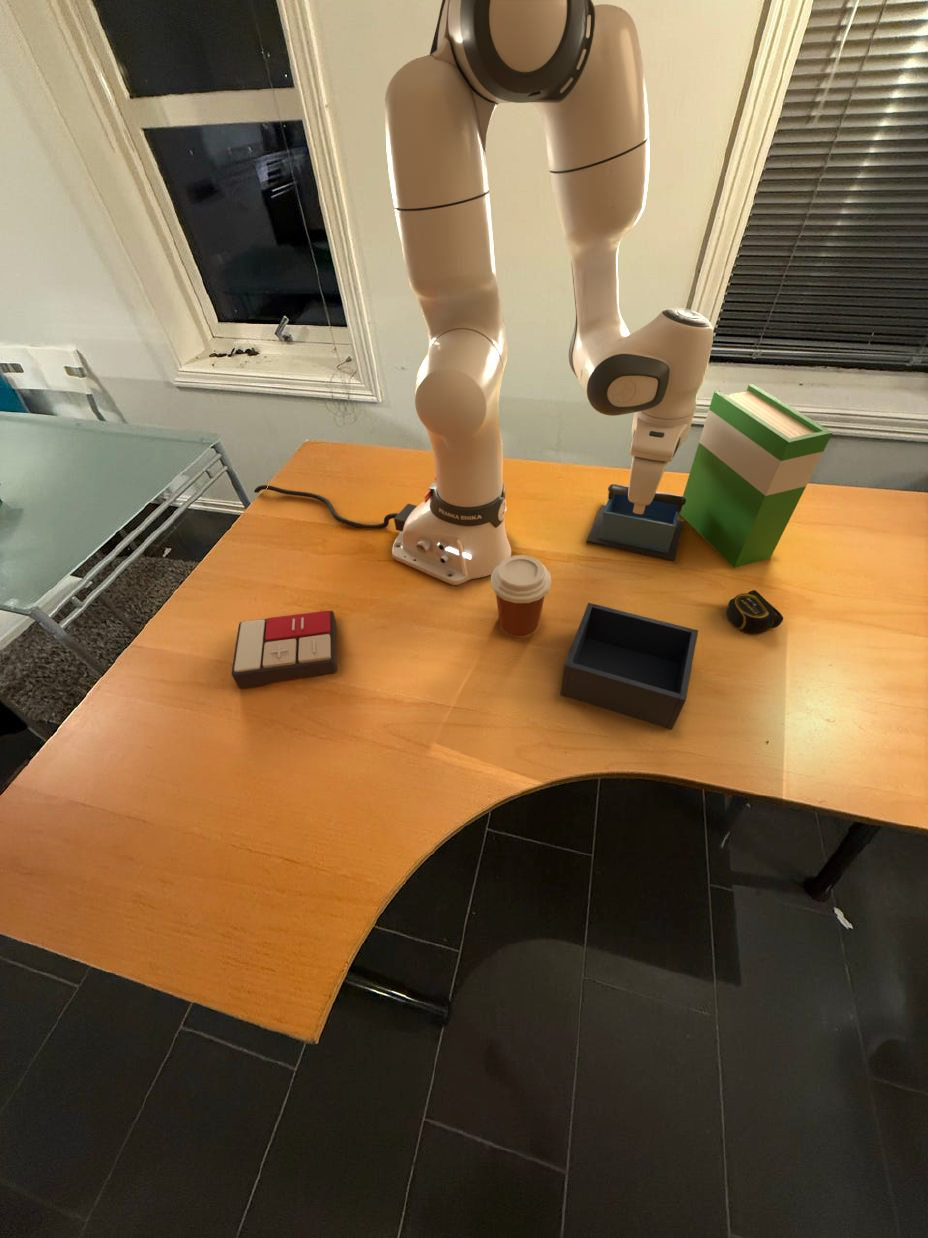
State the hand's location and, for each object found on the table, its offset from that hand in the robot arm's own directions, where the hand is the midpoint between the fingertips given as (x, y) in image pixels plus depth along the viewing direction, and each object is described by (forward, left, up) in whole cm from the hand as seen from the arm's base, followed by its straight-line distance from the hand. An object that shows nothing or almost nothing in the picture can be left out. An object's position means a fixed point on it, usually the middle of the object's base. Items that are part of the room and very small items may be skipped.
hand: (643, 496), depth 94 cm
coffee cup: (-13, -30, -8) cm, 34 cm away
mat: (0, 0, -8) cm, 8 cm away
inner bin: (0, 0, -8) cm, 8 cm away
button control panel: (-45, -49, -8) cm, 67 cm away
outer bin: (+5, -35, -8) cm, 36 cm away
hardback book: (+15, +5, -8) cm, 18 cm away
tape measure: (+21, -16, -8) cm, 28 cm away
